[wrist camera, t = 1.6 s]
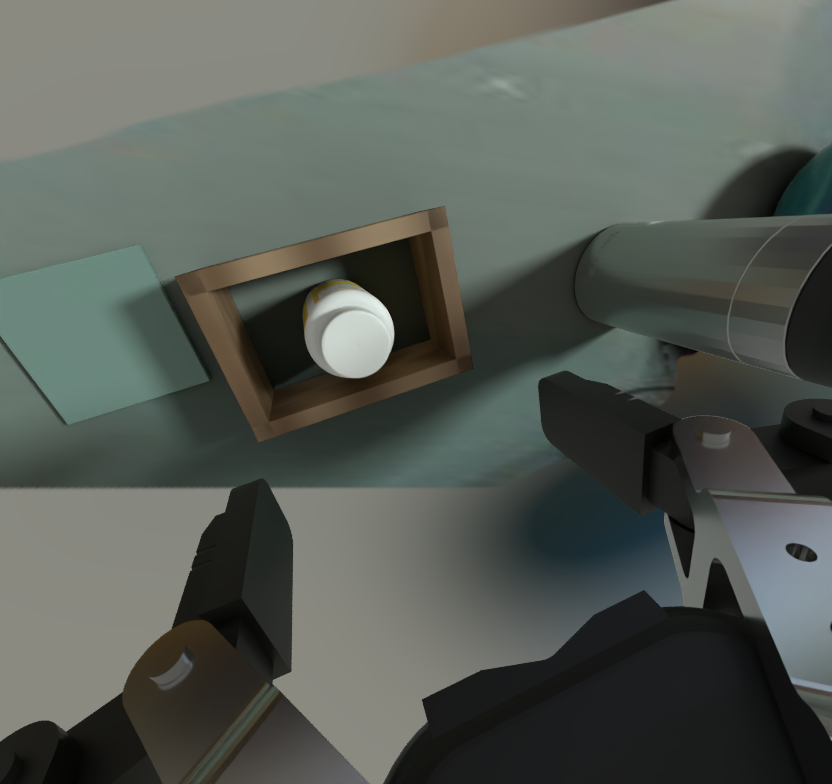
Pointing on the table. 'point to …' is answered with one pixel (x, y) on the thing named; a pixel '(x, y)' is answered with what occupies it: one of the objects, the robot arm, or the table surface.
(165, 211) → the table surface
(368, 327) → the supplement bottle
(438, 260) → the box
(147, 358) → the mat
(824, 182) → the vase
